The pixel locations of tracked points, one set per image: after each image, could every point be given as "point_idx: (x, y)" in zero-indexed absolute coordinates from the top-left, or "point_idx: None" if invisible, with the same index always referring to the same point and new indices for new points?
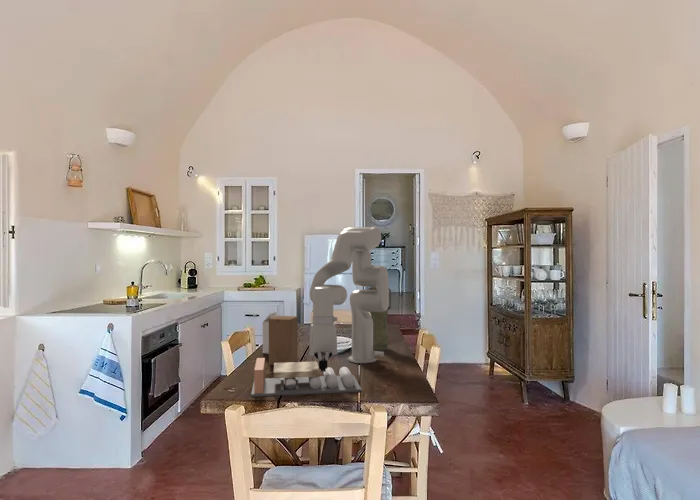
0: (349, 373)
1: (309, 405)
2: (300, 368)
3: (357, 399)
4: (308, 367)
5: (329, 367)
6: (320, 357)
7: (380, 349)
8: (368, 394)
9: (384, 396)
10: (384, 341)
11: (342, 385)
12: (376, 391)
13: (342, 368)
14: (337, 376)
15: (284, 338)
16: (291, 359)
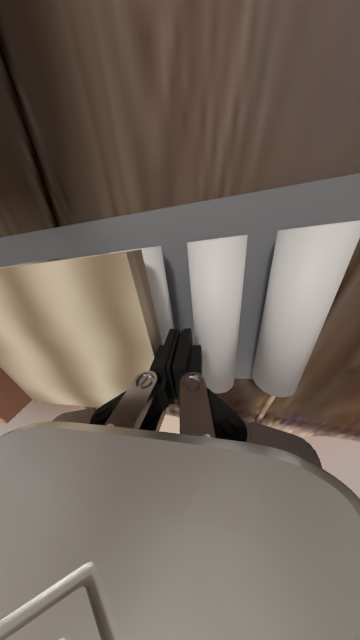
0: (302, 362)
1: (166, 414)
2: (90, 380)
3: (261, 409)
4: (116, 374)
5: (223, 243)
6: (154, 421)
7: None
8: (303, 392)
9: (337, 408)
10: None
11: (250, 345)
12: (341, 379)
13: (309, 260)
14: (264, 212)
15: None
16: None
